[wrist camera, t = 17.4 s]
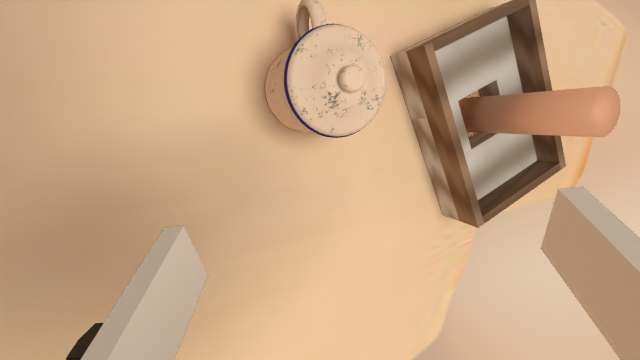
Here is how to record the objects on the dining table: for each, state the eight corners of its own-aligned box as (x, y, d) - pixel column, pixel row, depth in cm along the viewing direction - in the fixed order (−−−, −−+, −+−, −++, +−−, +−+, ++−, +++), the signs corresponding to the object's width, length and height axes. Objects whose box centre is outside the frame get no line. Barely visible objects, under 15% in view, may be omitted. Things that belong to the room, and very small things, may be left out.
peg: (448, 106, 43) (585, 98, 28) (472, 92, 44) (617, 78, 29) (456, 137, 44) (592, 145, 29) (480, 123, 45) (622, 124, 30)
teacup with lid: (349, 124, 38) (412, 125, 27) (273, 142, 35) (310, 151, 24) (330, 11, 35) (392, -37, 24) (245, 21, 32) (274, -29, 21)
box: (390, 56, 38) (424, 45, 33) (489, 9, 42) (534, -8, 37) (442, 214, 45) (478, 227, 40) (523, 161, 49) (565, 166, 44)
